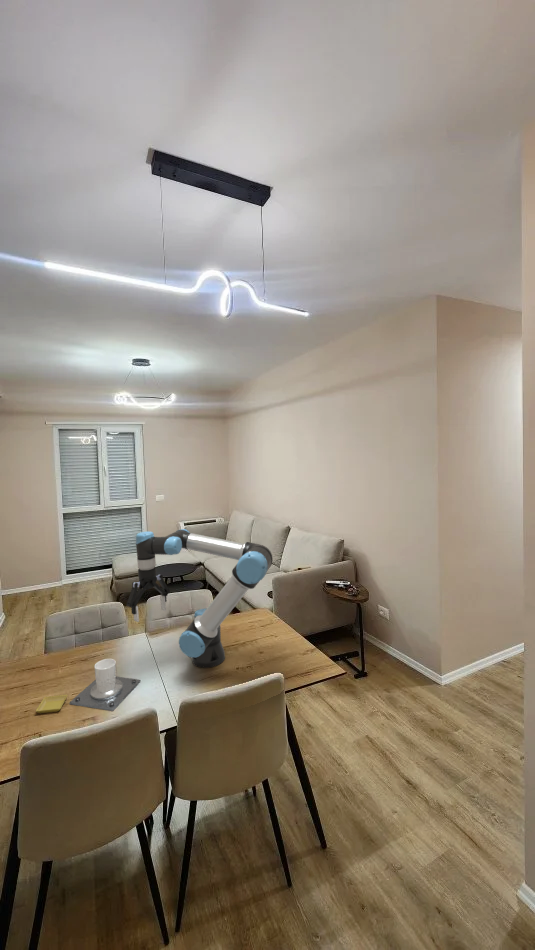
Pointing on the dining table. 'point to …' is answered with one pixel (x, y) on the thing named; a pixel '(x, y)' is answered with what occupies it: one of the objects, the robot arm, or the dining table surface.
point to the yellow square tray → (51, 704)
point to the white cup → (105, 675)
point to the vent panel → (105, 694)
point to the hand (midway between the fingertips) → (150, 615)
